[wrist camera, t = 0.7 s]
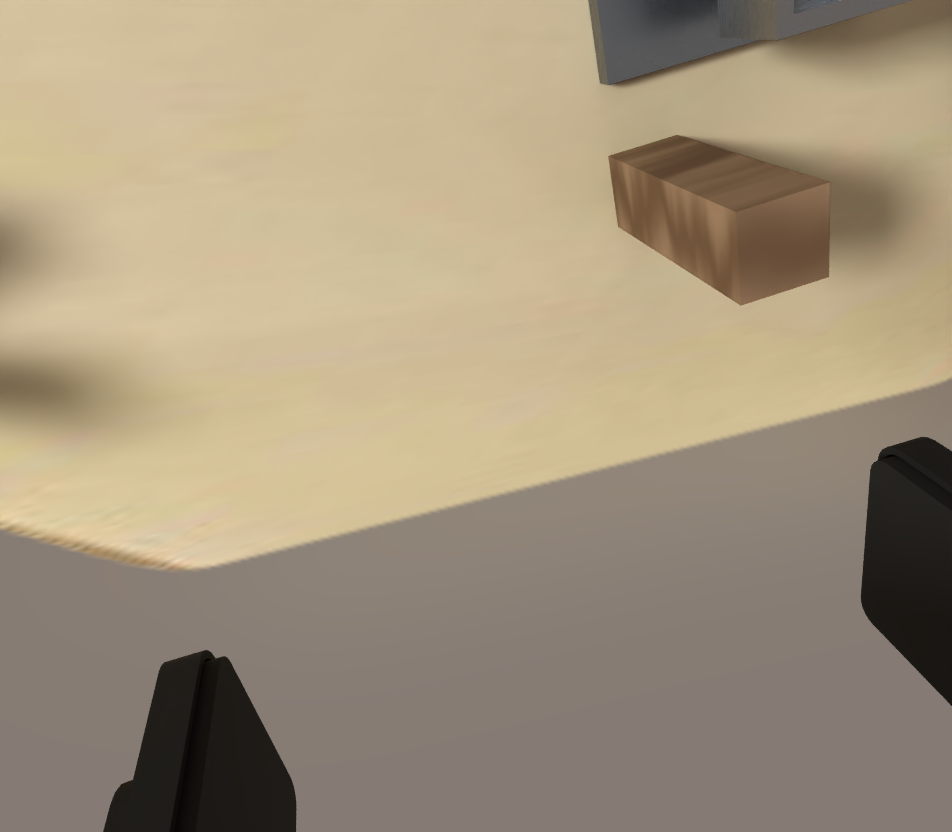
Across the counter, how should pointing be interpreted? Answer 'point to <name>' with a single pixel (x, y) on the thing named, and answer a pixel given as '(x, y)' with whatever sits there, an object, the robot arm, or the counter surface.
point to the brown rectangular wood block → (724, 216)
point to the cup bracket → (701, 28)
